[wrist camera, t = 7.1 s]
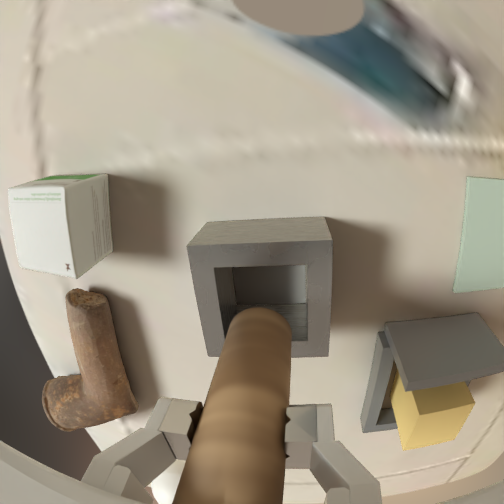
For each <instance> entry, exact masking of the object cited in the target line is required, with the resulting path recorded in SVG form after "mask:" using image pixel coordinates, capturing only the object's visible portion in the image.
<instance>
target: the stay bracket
mask: <svg viewBox="0 0 504 504" xmlns="http://www.w3.org/2000/svg"><path fill="white" fill-rule="evenodd" d="M187 250H188V256H189V262H190V268H191V273H192V279H193V284H194V290H195V295H196V300H197V305H198V310H199V315H200V320H201V325H202V330H203V335H204V339H205V344H206V349H207V353H208V356H210V357H220V354H221V351H222V348H223V345H224V342H225V339H226V336H227V332H228V329H229V326H230V323H231V321H232V320H233V318H234V317H235V316H236V315H237V314H238V313H240V312H241V311H244V310H246V309H249V308H256V307H260V308H267V309H271V310H274V311H276V312H278V313H279V314H281V315H282V316H283V317H284V318H285V319H286V320H287V321H288V323H289V325H290V327H291V331H292V344H291V358H299V357H328V353H329V338H330V320H331V297H332V251H333V240H332V237H331V234H330V231H329V228H328V226H327V223H326V220H325V217H301V218H277V219H256V220H237V221H219V222H207V223H206V224H205V225H204V226H203V227H202V229H201V230H200V231H199V232H198V233H197V234H196V236H195V237H194V238H193V239H192V240H191V241H190V243H189V244H188V245H187ZM281 265H305V272H306V304H267V305H236V297H235V289H234V281H233V273H232V267H249V266H281Z"/></svg>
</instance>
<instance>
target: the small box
mask: <svg viewBox="0 0 504 504" xmlns="http://www.w3.org/2000/svg"><path fill="white" fill-rule="evenodd" d="M8 201H9V211H10V218H11V224H12V230H13V236H14V242H15V247H16V253H17V258H18V262H19V266H20V268H23V269H28V270H32V271H38V272H43V273H48V274H53V275H59V276H64V277H70V278H75V279H78V278H79V277H81V276H82V275H83V274H84V273H86V272H87V271H88V270H89V269H91V268H92V267H93V266H94V265H96V264H97V263H98V262H99V261H101V260H102V259H103V258H105V257H106V256H107V255H109V254H110V253H111V252H113V241H112V231H111V218H110V204H109V185H108V175H107V174H94V175H56V176H48V177H44V178H41V179H37V180H34V181H31V182H27V183H24V184H21V185H18V186H15V187H11V188H9V189H8Z"/></svg>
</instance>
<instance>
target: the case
mask: <svg viewBox="0 0 504 504" xmlns="http://www.w3.org/2000/svg"><path fill="white" fill-rule="evenodd" d="M394 360H395V363H396V366H397V368H398V371H399V374H400V377H401V380H402V383H403V386H404V389H405V392H407V391H414V390H420V389H426V388H432V387H438V386H443V385H448V384H453V383H458V382H463V381H465V383H466V385H467V387H468V385H469V383H470V381H471V380H472V379H476V378H480V377H485V376H489V375H492V374H496V373H500V372H504V347H503V346H502V344H501V343H500V342H499V340H498V339H497V337H496V336H495V335H494V333H493V332H492V331H491V329H490V328H489V327H488V326H487V324H486V323H485V322H484V320H483V319H482V318H481V317H480V315H479V314H478V313H471V314H463V315H456V316H448V317H439V318H430V319H420V320H410V321H399V322H387V323H386V325H385V331H384V332H378V334H377V340H376V346H375V352H374V357H373V363H372V368H371V373H370V378H369V383H368V388H367V392H366V397H365V401H364V405H363V409H362V414H361V418H360V419H361V425H362V432H363V433H368V432H376V431H384V430H392V429H398V427H397V423H396V419H395V415H394V411H393V408H388V409H381V407H382V403H383V400H384V396H385V393H386V389H387V385H388V382H389V378H390V374H391V370H392V366H393V362H394Z"/></svg>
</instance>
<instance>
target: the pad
mask: <svg viewBox="0 0 504 504" xmlns="http://www.w3.org/2000/svg"><path fill="white" fill-rule="evenodd" d="M498 288H504V179H496V178H483V177H469V176H467V184H466V199H465V211H464V221H463V230H462V238H461V245H460V252H459V258H458V264H457V270H456V276H455V281H454V286H453V292H454V293H462V292H471V291H481V290H489V289H498Z"/></svg>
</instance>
